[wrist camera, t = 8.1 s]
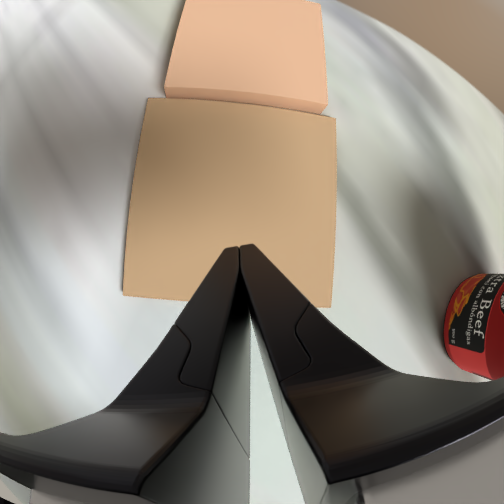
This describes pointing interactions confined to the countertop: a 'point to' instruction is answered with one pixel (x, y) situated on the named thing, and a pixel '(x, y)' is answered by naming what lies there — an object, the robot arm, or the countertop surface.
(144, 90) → the countertop surface
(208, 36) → the tile
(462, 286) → the canned food
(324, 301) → the mat
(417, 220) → the countertop surface
